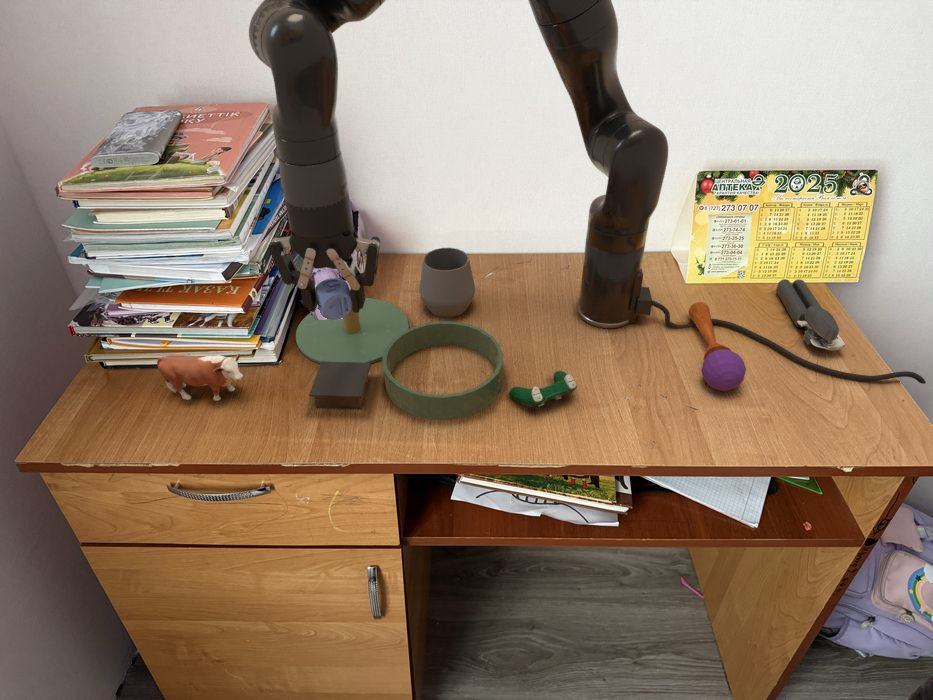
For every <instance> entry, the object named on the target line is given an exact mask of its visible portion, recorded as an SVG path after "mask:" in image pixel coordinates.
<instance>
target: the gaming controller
mask: <svg viewBox="0 0 933 700" xmlns="http://www.w3.org/2000/svg"><path fill="white" fill-rule="evenodd" d="M553 382H554V383H552V384H549V385H547V386H544V387H541V388H539V386H537V385H536V386H533V387H532V388H527V387H522V386H512V387H511V388H510V390H509V391H508V395H509V396H510V397H511V398H512V399H513V400H514V401H516V402H517V403H519V404H521V405H524V406H526V407H530V408H533V407H535V406H538V407H542V406H544V405H545V402H548V401H550V400H551V401H552V400H553V399H554V400H556V401H558V400H560V399H562V396H564V395H567V394H570V393H573V392H575V391H576V389H577V387H578V385H577V382H576V380H575V379H574V377H573V376H572V375H571V374H570V373H567V372H565V371H563V370H556V371H555V372H554V373H553Z"/></svg>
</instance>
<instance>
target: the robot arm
mask: <svg viewBox="0 0 933 700" xmlns="http://www.w3.org/2000/svg"><path fill="white" fill-rule="evenodd" d="M386 1H387V0H263V1H262V2H261V3H260V4H259V5H258V7H257V8H256V10H255V11H254V12H253V14H252V17H251V19H250V22H249V27H248V40H249V44H250V46H251V49H252V51H253V53H254V55H255V56H256V57H257V58H258V59H259V60H260V61H261V62H262V63H263V64H264V65H265V66H267V68H269V69H270V70H271V75H272V79H273V84H274V91H275V98H276V104H275V105H274V107H273V108H272V111H271V123H272V129H273V135H274V140H275V141H274V142H275V145H276V146H275V147H276V152H277V158H278V163H279V164H278V165H279V178H280V188H281V193H282V194H283V199H284V203H285V210H286V214H287V219H288V225H289V229H290V235H289V236H285V237H284V236H282V235H281V234H276V235H275V236H274V237H273V238H272V239H271V242H270V244H269V246H268V251H269V252H270V255H271V257H272V259H273V261H274V264H275V267H276V269H277V271H278V273H279V275H280V277H281V280H282V282H283V283H284V284H285V285H286V286H287V285H288V286H289V285H295V286H297V288H299V290H300V296H301V301H302V305H303V306H304V308H307V310H308V312H310V313H311V312H315V310H316V309H317V308H318V304H317V300H316V296H315V288H316V285H315V280H314V279H313V280H312V276H313V272H314V269H317V270H318V269H319V270H320V269H325V268H328V269H331V270H337V271H338V272H339V274H340V276H341V277H342V278H343V279H345V281H346V283H347V284H348V286H349V289H350V293H351V300H352V307H353V312H354V313H359V311H360V309H362V308H363V306H364V303H365V298H366V294H365V293H366V292H365V287H372V286H373V285H374V282H375V279H376V277H377V272H378V264H379V256H380V248H381V247H380V246H381V239H380V238H379V237H378V236H372V237H371V238H370V239H369V238H363V237H359V235H358V232H356V230H355V227H354V222H353V215H352V207H351V199H350V193H349V184H348V177H347V170H346V165H345V161H344V158H343V154H342V150H341V142H340V135H339V127H338V120H337V115H336V111H337V110H336V109H337V103H338V102H337V101H338V87H339V86H338V84H339V59H338V52H337V47H336V46H337V45H336V42H335V39H334V36H333V33H335V32H336V31H337V30H338V29H339V28H341V27H342V26H344V25H345V24H347V23H355V22H362V21H365V20H366V19H367V18H369V17H371V16H372V15H373V14H374V13H376V11H377V10H379V8H380V7H381V6H382V5H383V4H385V3H386ZM527 2H528V4H529V6H530V9H531V12H532V15H533V17H534V20H535V23H536V25H537V27H538V30H539V32H540V35H541V38H542V39H543V42H544V44H545V46H546V49H547V50H548V53H549V54H550V57H551V59H552V61H553V64H554V65H555V68H556V70H557V73H558V75H559V78H560V80H561V82H562V84H563V86H564V88H565V90H566V92H567V94H568V96H569V98H570V100H571V103H572V106H573V109H574V112H575V115H576V119H577V122H578V126H579V130H580V134H581V138H582V141H583V144H584V148H585V151H586V153H587V156H588V159H589V160H590V162H591V164H592V165H593V166H594V167H595V168H596V169H597V170H598V171H599V172H601V173H602V174H603V175H604V176H606V177H607V184H606V189H605V194H602V195H599V196H597V197H595V198H594V199H593V200H592V201H591V203H590V205H589V209H588V217H587V226H586V236H585V244H584V255H583V265H582V272H581V273H582V274H581V283H580V291H579V299H578V304H577V305H578V306H577V313H578V315H579V317H580V318H581V319H582V320H583V322H586V323H587V324H589V325H592V326H594V327H597V328H602V329H603V328H605V329H616V328H621V327H624V326H626V325H628V324H635V323H636V320H637V316H650V315H651V312H652V307H653V308H654V307H655V308H657V309H659V310H660V311H662V313H663V314H664V323H665V325H666V326H667V327H669V328H670V329H673V330H681V329H682V330H683V329H689V328H696V327H697V326H696V325H695V323H694V322H693V321H692V322H691V323H686V324H677V323H674V322H672V321H671V314H670V311H669V310H668V307H666V306H665V305H663V304H662V303H660V302H658V301H655V300H653V297H652V293H651V290H650V287H649V286H643V280H644V272H643V268H642V267H643V259H644V255H645V254H644V253H645V247H646V242H647V236H648V230H649V225H650V220H651V217H652V215H653V214H654V212H655V211H656V209H657V207H658V204H659V200H660V196H661V192H662V188H663V184H664V179H665V175H666V171H667V166H668V160H669V142H668V138H667V136H666V134H665V133H664V132H663V130H662V129H661V128H660V127H657V126H656V125H654V124H653V123H651V122H649V121H648V120H646V119H644V118H643V117H641V116H639V115H638V114H637V113H636V112H635V111H634V110H633V108H632V106H631V105H630V102H629V100H628V99H627V96H626V94H625V92H624V91H625V90H624V89H623V86H622V83H621V81H620V78H619V73H618V67H617V61H618V49H619V24H618V23H619V22H618V18H617V14H616V11H615V7H614V5H613V1H612V0H527ZM357 248H358V249H359V250H360V253H361V255H362V257H363V258H365V269H364V272H362V271H361V270H360V268H359V266H358V264H357V260H356V257H355V256H354V254H353V253H354V252H355V250H356V249H357ZM291 250H294V251H295V252H296V253H297V254H298V255H299V256H300V257H301V258H302V259H303V261H302V265H301V269H300V271H299V270H297V269H298V268H297V267H296V265H295V262H294V260H293V258H292V256H291V253H290V252H291ZM711 320H712V325H720V326H723V327H727V328H730V329H733V330H736V331H739V332H740V333H743V334H745V335H747V336H749V337H750V338H753V339H754V340H757V341H759V342H761V343H764V344H766V345H767V346H769V347H771V348H773V349H774V350H776V351H778V352H779V353H781V354H782V355H784V356H786V357H787V358H789V359H791V360H793V361H794V362H797V363H798V364H801V365H802V366H805V367H807V368H809V369H813V370H815V371H817V372H822V373H825V374H827V375H831V376H835V377H839V378H845V379H849V380H850V379H851V380H856V381H865V382H876V381H885V380H890V379H897V378H912V379H914V380H916V381H917V382H918V383H920V384H925V385H926V383H927V381H926V380H925V379H924V378H923V376H922V375H920V374H918V373H916V372H913V371H908V370H906V371H905V370H903V371H895V372H890V373H884V374H877V375H876V374H875V375H867V374H866V375H865V374H858V373H851V372H845V371H841V370H837V369H832V368H829V367H825V366H823V365H821V364H820V365H819V364H817V363H814V362H811V361H808V360H807V359H804V358H802V357H800V356H798V355H796V354H794V353H793V352H791V351H789V350H787V349H786V348H784V347H782V346H781V345H779V344H778V343H776V342H774V341H772V340H770V339H768V338H767V337H764V336H762V335H760V334H758V333H757V332H755V331H752V330H750V329H748V328H746V327H743V326H742V325H739V324H737V323H734V322H730V321H727V320H723V319H718V318H711Z"/></svg>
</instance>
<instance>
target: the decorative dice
mask: <svg viewBox="0 0 933 700" xmlns="http://www.w3.org/2000/svg"><path fill="white" fill-rule="evenodd" d="M350 289H351V288H350V286H349V283H348V282H347V281H346V280H343V279H341V278H338V277H337V278H336V277H332V278H327V279H324V280H322V281H320V282H319V283H318V284H317V285H315V296H316V300H317V308H319V310H320V313H321V315H322V316H323V317H325V318H327V319H332V320H334V319H341V318H343V317H345V316H347V315H348V314H349V313H350V312H351V311H352V309H353V307H352V300H351V293H350Z"/></svg>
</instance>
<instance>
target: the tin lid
mask: <svg viewBox="0 0 933 700" xmlns="http://www.w3.org/2000/svg"><path fill="white" fill-rule="evenodd" d="M408 329H410V325H409V320H408V317H407V315H406V314H405V313H404V311H402V310H401V309H400V308H399V307H398V306H396V305H395V304H392V303H390V302H388V301H385V300H382V299H378V298H372V297H365V303H364V306H363V308H362V309H360V311H359V313H354V312H353V309H352V311H351V312H350V313H349V314H348V315H347V316H345V317H343V319H334V320H332V319H327V320H315V319H314V318H313V316H312V315H311V312H310V313H308V314H307V315H306V316H304V318H303V319H302V320H301V321H300V323H299V324H298V326H297V328H296V330H295V331H296V332H295V342H296V345H297V349H298V350H299V352H300V353H301V354H302V355H303V356H304V357H305V358H307V359H308V360H311V361H312V362H314V363H317V364H319V365H320V364H321V362H357V363H371V364H374V363H377V362H381V361H382V359H383V355H384V351H385V349H386V348H387V346H388V345H389V343H390V342H391V341H392V340H393V339H394V338H395V337H397V336H398V335H399V334H401V333H402V332H404V331H406V330H408Z"/></svg>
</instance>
